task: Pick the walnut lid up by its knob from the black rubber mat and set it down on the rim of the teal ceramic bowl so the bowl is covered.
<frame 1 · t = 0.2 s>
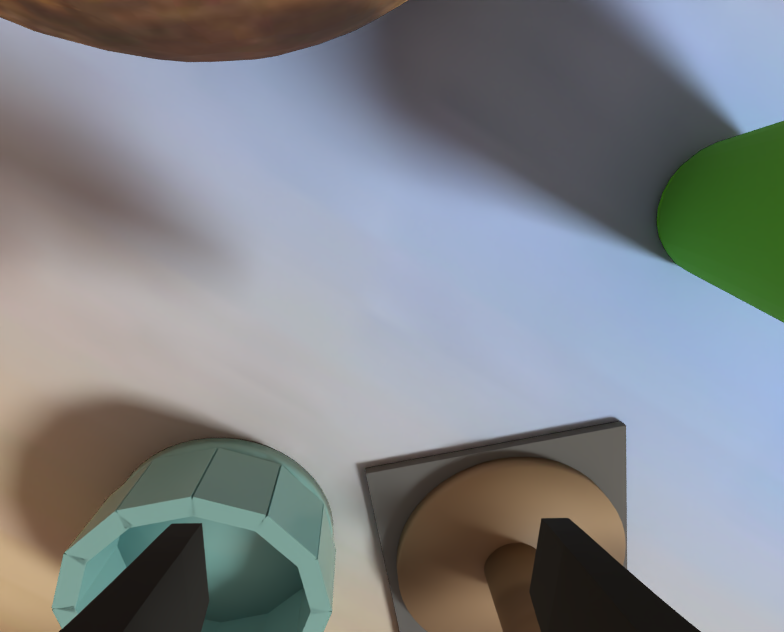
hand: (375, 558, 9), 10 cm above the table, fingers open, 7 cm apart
cup: (710, 209, 18), on the table
lid: (507, 553, 22), resting on mat
mat: (505, 547, 22), on the table
bowl: (225, 531, 21), on the table
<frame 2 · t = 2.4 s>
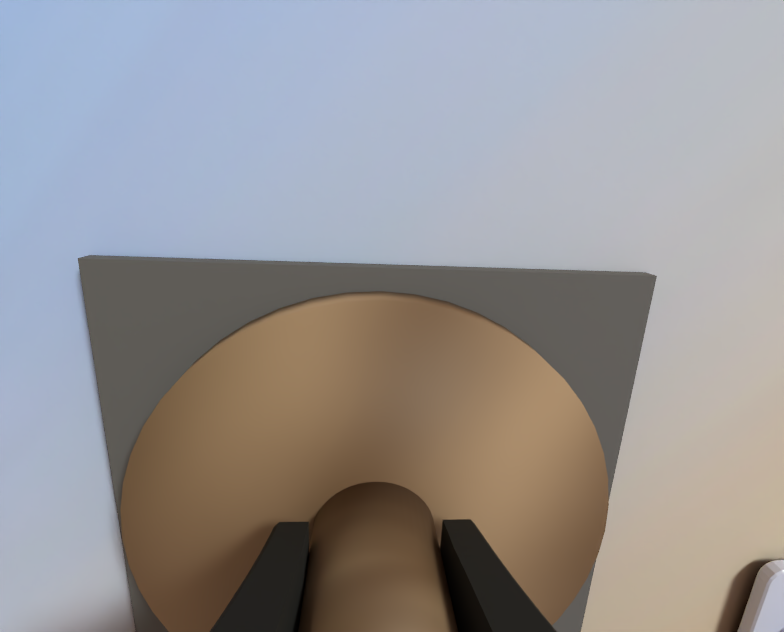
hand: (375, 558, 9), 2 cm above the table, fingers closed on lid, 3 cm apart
lid: (372, 509, 11), resting on mat, touching gripper
mat: (372, 498, 11), on the table
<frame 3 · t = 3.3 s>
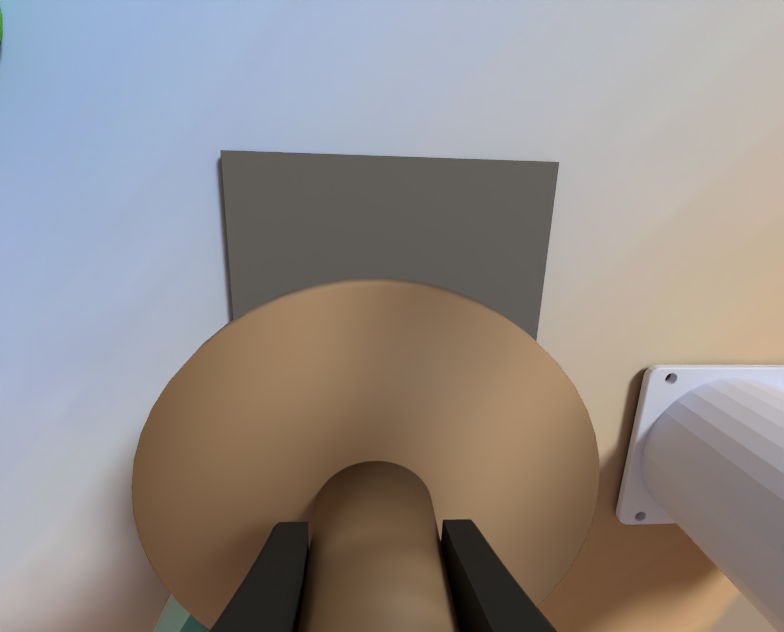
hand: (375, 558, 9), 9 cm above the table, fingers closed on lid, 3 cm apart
lid: (373, 488, 11), point 7 cm above the table, touching gripper
mat: (389, 315, 18), on the table
bowl: (298, 577, 21), on the table
when the fingers open (7 cm above the table, at t = 4.7 s): lid stays where it is, resting on bowl.
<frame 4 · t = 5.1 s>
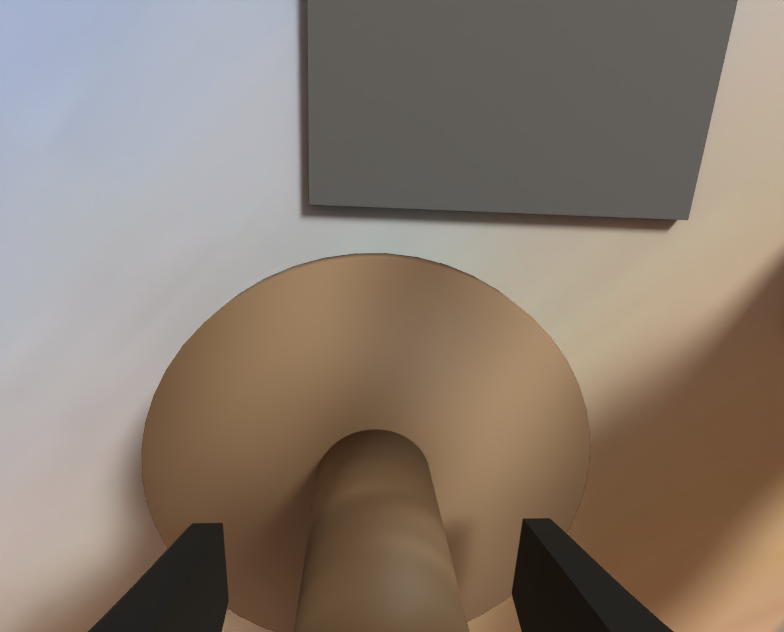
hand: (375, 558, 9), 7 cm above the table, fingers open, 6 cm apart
lid: (372, 460, 12), point 4 cm above the table, touching bowl
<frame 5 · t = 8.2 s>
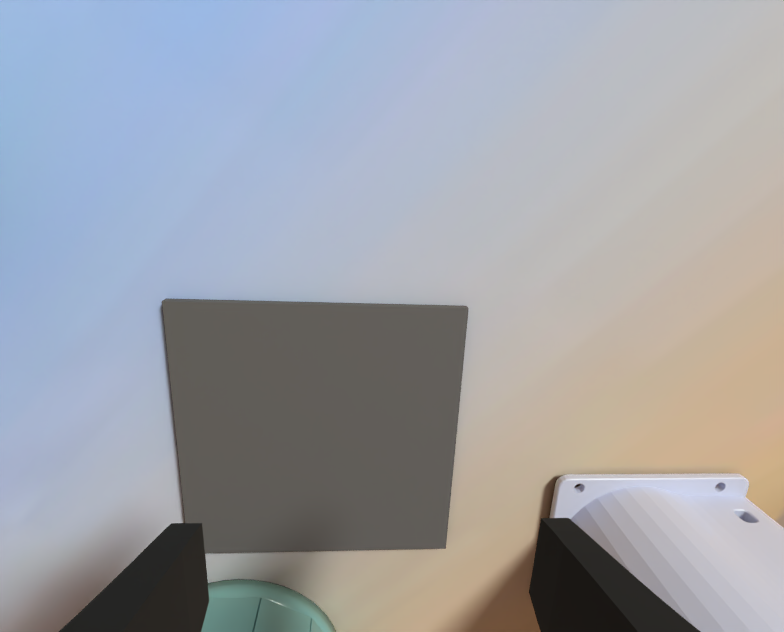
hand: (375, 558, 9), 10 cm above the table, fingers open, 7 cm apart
mat: (320, 433, 20), on the table
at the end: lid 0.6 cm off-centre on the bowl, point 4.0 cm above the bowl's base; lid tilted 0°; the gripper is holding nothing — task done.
